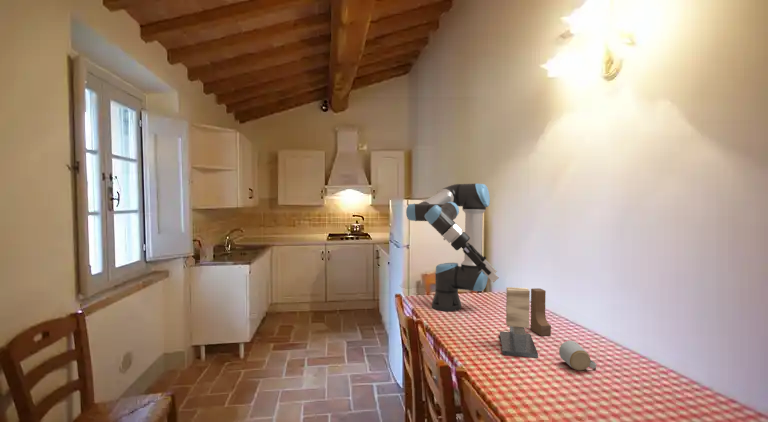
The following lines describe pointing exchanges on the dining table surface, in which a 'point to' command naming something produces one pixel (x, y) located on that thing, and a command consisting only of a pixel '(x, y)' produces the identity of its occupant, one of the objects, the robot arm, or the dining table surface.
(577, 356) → the ceramic mug
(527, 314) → the birch post
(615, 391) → the dining table surface
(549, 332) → the wooden block
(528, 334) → the gray t-shaped block
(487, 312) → the dining table surface
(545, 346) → the dining table surface
